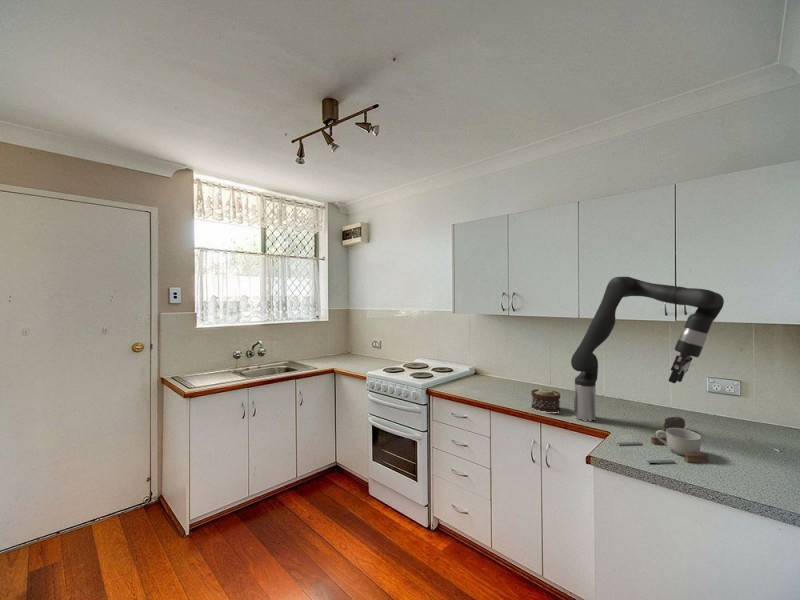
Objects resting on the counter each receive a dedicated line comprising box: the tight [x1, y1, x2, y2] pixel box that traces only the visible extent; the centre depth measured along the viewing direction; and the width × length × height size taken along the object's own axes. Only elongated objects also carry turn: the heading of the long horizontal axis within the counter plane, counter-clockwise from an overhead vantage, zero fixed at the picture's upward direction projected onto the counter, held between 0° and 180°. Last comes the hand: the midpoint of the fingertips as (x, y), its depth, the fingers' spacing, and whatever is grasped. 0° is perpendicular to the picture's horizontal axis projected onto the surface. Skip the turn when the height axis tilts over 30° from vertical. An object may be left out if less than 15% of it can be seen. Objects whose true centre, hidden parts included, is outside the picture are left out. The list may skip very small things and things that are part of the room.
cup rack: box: [650, 436, 709, 464], centre depth 138 cm, size 17×8×2 cm, turn 4°
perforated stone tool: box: [663, 416, 686, 432], centre depth 158 cm, size 15×5×7 cm, turn 118°
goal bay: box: [616, 441, 676, 465], centre depth 137 cm, size 18×10×1 cm, turn 4°
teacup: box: [655, 428, 702, 457], centre depth 138 cm, size 14×11×8 cm
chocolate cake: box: [530, 388, 561, 412], centre depth 190 cm, size 15×11×15 cm
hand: (674, 381), depth 134 cm, fingers open, 8 cm apart
